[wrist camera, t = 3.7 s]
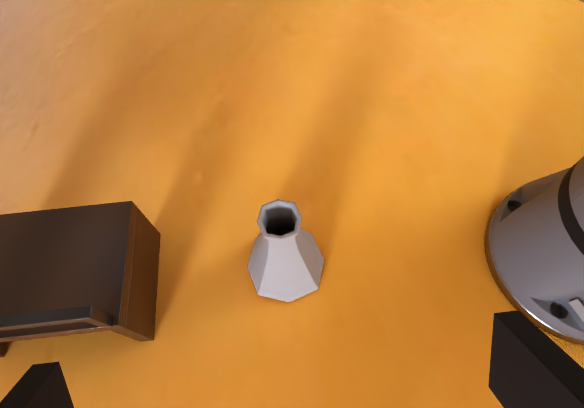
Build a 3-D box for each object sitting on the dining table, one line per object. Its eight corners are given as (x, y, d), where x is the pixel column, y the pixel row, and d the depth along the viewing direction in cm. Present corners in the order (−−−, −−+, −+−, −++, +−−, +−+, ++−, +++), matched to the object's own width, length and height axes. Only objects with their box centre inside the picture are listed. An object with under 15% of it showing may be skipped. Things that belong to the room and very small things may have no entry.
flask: (246, 232, 37) (227, 179, 28) (319, 225, 37) (324, 170, 29) (248, 306, 34) (228, 273, 25) (329, 299, 34) (337, 263, 25)
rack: (160, 233, 38) (115, 181, 29) (154, 340, 33) (98, 317, 24) (17, 249, 37) (-73, 201, 28) (-10, 358, 33) (-127, 342, 24)
